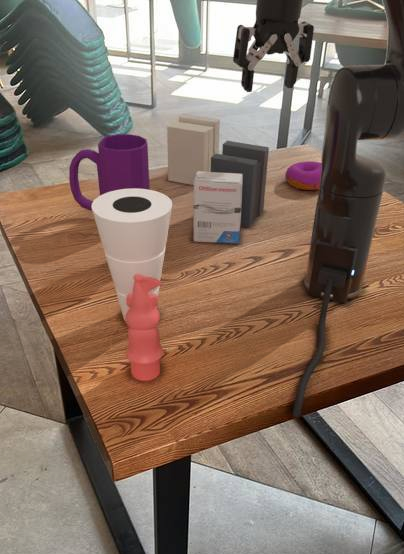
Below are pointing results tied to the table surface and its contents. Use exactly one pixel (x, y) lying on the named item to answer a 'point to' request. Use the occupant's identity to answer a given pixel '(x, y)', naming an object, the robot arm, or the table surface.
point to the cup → (133, 236)
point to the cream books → (191, 147)
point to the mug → (114, 166)
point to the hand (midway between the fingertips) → (268, 88)
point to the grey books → (245, 175)
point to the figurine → (143, 329)
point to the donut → (304, 175)
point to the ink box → (217, 207)
